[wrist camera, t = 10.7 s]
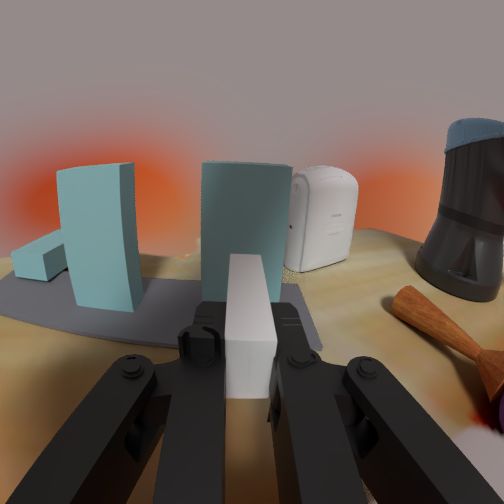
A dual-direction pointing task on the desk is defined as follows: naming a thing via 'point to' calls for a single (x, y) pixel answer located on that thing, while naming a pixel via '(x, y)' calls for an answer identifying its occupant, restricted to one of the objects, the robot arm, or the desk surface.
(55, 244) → the tile
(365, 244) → the desk surface
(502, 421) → the kendama
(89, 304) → the tile
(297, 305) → the mat
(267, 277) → the tile
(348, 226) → the photo printer
